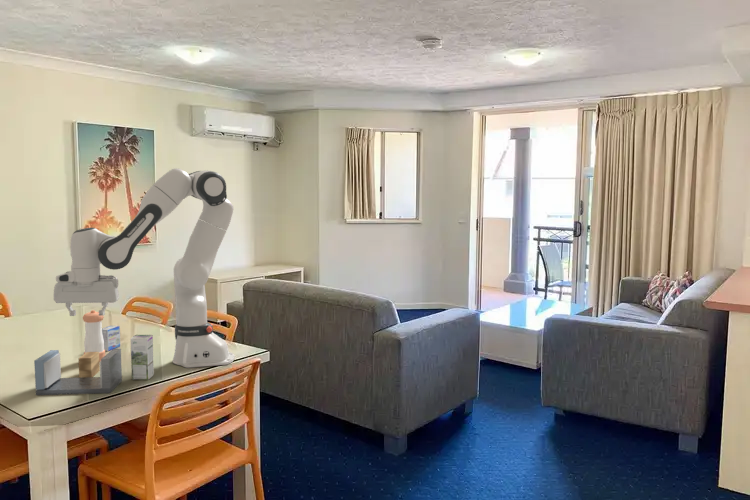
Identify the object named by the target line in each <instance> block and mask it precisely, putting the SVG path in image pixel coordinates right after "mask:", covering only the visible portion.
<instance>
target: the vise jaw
mask: <svg viewBox="0 0 750 500" xmlns="http://www.w3.org/2000/svg"><path fill="white" fill-rule="evenodd" d="M59 351H60V350H59V349H55V350H54V349H51V350H49V351H48V352H46V353H44V354H42V355H41V356H40V357H38V358H36V359H35V360H34V363H33V364H34V380H35V381H34V385H35V391H36V390H41V389H45V388H48V387H49V386H50V385H51V384H53V383H54V382H55V381H57V380H58V379H59V378H62V369H61V368H62V367H61V353H60V352H59Z"/></svg>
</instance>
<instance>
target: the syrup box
mask: <svg viewBox="0 0 750 500" xmlns="http://www.w3.org/2000/svg"><path fill="white" fill-rule="evenodd" d="M130 359H131V361H130V362H131V365H130V366H131V380H133V381H134V380H137V381H139V380H140V381H141V380H143V381H147V380H150V379H151V378H153V376H154V375H155V371H154V337H153V334H135V335H133V336H132V337H130Z"/></svg>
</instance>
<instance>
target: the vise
mask: <svg viewBox="0 0 750 500" xmlns="http://www.w3.org/2000/svg"><path fill="white" fill-rule="evenodd" d="M99 364H100V371H99V376H93V377H83V378H79V377H60V378H59V379H58V380H57V381H55V382H54V383H53V384H51V385H50V386H49V387H48V388H45V389H41V390H36V389H35V396H50V395H51V396H53V395H54V396H55V395H57V396H58V395H59V394H62V395H86V394H88V395H89V394H111V393H112V392H113V391H114V390H115V389H116V387H118V386H119V384H120V383H122V381H123V378H122V377H123V375H122V374H123V373H122V368H123V367H122V348H115V349H113V350H110V351H108V352H107V354H105V356H104V357H103V358H102V359H101V361H100V362H99Z"/></svg>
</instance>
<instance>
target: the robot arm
mask: <svg viewBox="0 0 750 500" xmlns="http://www.w3.org/2000/svg"><path fill="white" fill-rule="evenodd" d="M190 196H191V197H192V198H195V199H198V200H199V201H202V206H203V207H202V212H201V213H200V215H199V217H198V219H197V221H196V223H195V225H194V228H193V230H192V233H191V235H190V236H189V240H188V243H187V245H186V248H185V252H184V254H183V256H182V257H181V258H179V259H178V260H177V261H176V262H175V264H174V267H173V284H174V285H173V286H174V298H175V322H176V323H175V324H174V338H175V346H174V347H175V349H174V354H173V358H172V363H173V364H174V365H176V366H177V365H178V366H182V367H183V368H199V367H210V366H211V367H212V366H224V365H225V366H226V365H229V364H231V363H233V361H235V354H234V353H233V352H230V351H229V346H228V343H227V341H226V340H225V339H223V338H222V337H220V336H219V335H218V334H216V333H214V332H213V330H214V329H213V328H214V326H213V323H210V322H208V306H207V305H208V303H207V301H208V300H207V295H206V284H207V282H208V280H209V277H210V275H211V271H212V270H213V266H214V264H215V261H216V257H217V254H218V250H219V248H220V246H221V244H222V241H223V240H224V237H225V235H226V233H227V231H228V229H229V226H230V224H231V220H232V218H233V213H234V205H233V203H232V202H231V201H230V200H229V199H228V198H227V197H228V196H227V183H226V179H225V178H224V177H223V175H222V174H220V173H219V172H216V171H212V170H208V169H207V170H206V169H205V170H198V171H193V172H190V173H188V172H186V171H185V170H183V169H181V168H177V167H175V168H174V167H173V168H171V169H170V170H169V171H167V172H166V173H165V174H163V175H162V176H161V177H160V178H158V179H157V180H156V181H155V182H154V183H153V184H151V186H150V187H149V189H147V191H146V193H145V194H144V196H143V197H142V199H141V200H140V206H139V210H138V212H137V214H136V215H135V216H134V217H133V219H132V220H131V222H130V223H129V224H128V225H127V226H126V227H125V228H124V229H123V230H122V231H121V233H119V234H118V235H117V236H113V235H110V234H107V233H104V232H103V231H101V230H99V229H97V228H96V227H85V228H84V227H83V228H80V229H77V230H75V231H73V233H72V234H71V237H70V256H71V265H70V270H69V271H66V272H64V273H60V274H58V275H56V277H55V281H56V283H55V284H54V287H53V288H54V289H53V301H54V302H55V303H56V304H65V307H66V309H67V310H68V312H69V316H70V317H74V316H76V315H77V310H76V309H73V304H91V303H92V304H100V303H101V306H102V308H101V309H99V310H98V312H99V316H104V317H105V315H106V308H107V307H108V305H109V303H113V304H114V303H116V302H117V301H118V300H119V299H120V297H119V289H118V287H119V279H118V278H117V276H114V275H112V274H111V275H105V274H103V275H101V265H102V266H103V267H105V268H106V269H109V270H113V271H114V270H120V269H122V268H125V267H126V266H128V264H129V263H130V261H131V259H132V258H133V257H132V256H133V253H134V252H135V251H134V250H135V248H136V247H137V246H138V244H139V243H140V242H141V241H142V240H143V239H144V237H146V235H147V234H148V233H149V232H150V230H152V229H153V227H154V226H156V225H157V224H158V223H160V222H161V221H162V220H164V219H165V218H166V217H168V216H169V215H170V214H171V213H173V211H175V210H176V208H177V207H178V206H179V205H180V204H181V203H182V202H183V200H185V199H186V198H187V197H190Z"/></svg>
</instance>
